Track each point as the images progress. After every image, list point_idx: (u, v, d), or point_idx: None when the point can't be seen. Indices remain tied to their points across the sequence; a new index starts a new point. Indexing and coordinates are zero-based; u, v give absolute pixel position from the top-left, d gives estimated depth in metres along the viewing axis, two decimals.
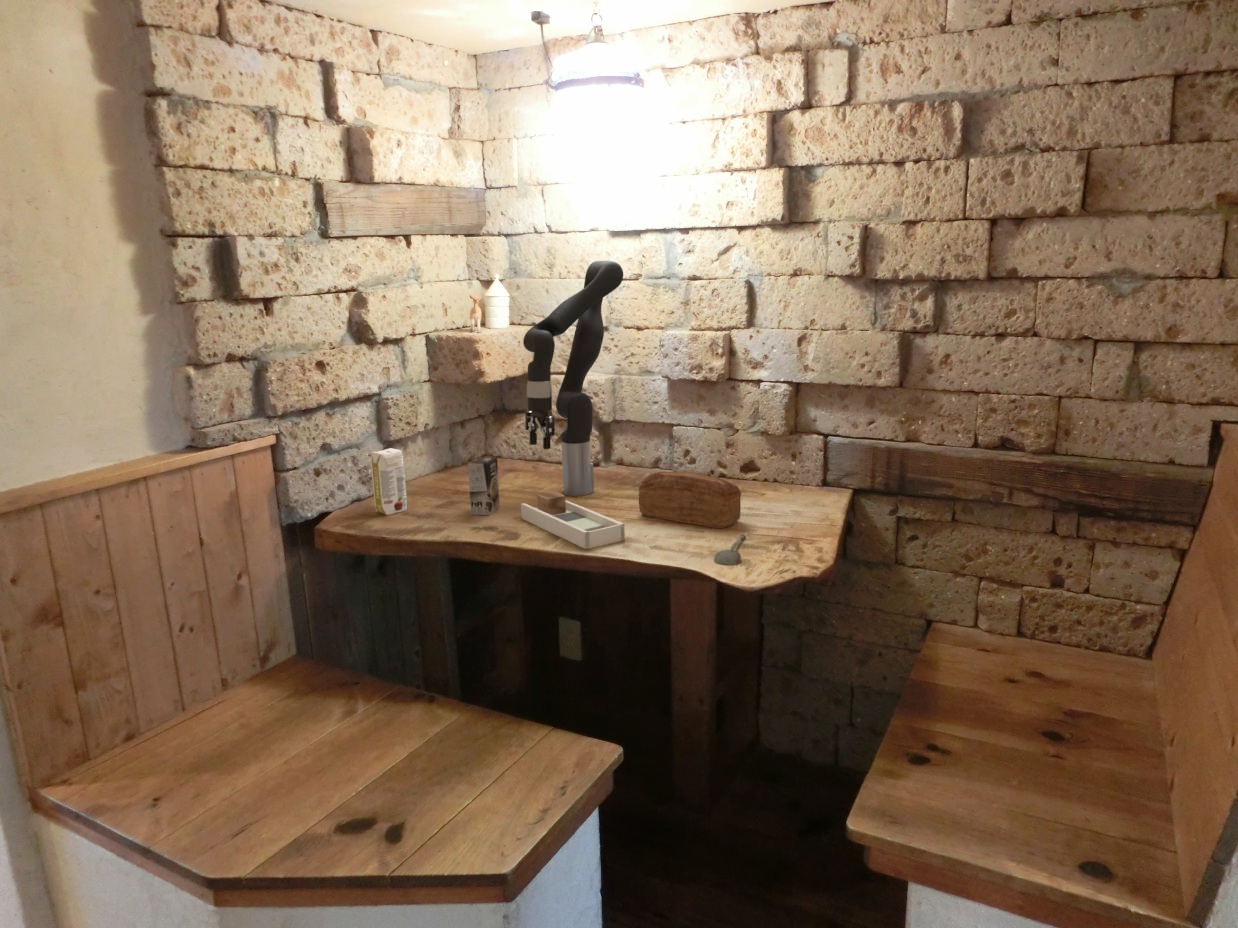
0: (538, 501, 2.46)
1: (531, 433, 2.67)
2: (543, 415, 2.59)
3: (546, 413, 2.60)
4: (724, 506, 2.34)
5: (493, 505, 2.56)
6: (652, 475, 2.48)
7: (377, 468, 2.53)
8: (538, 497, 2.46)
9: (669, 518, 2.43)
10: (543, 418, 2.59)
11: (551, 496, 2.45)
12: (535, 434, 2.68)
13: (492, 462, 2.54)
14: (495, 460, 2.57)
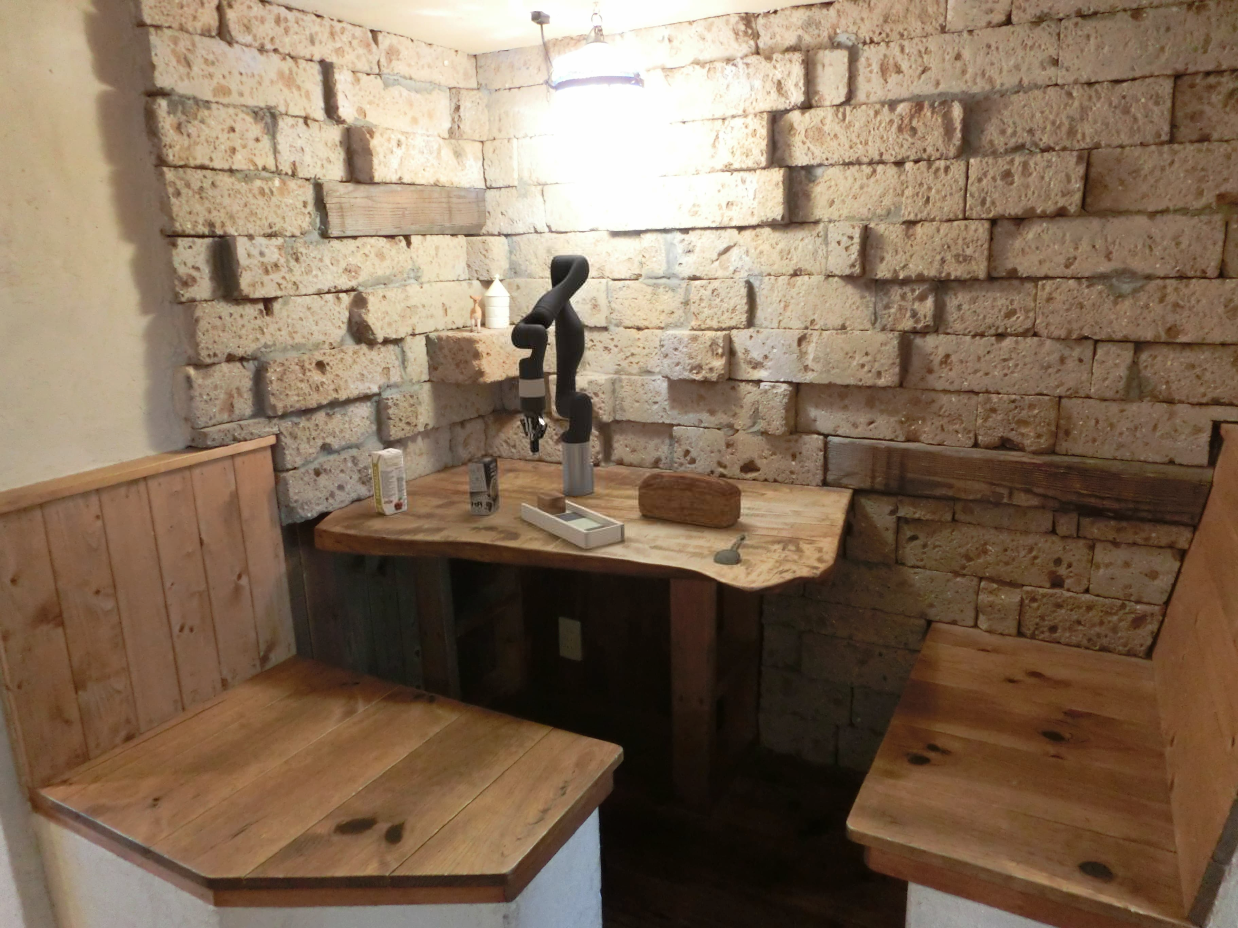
0: (538, 501, 2.46)
1: None
2: (537, 418, 2.44)
3: (540, 413, 2.45)
4: (725, 505, 2.34)
5: (493, 505, 2.56)
6: (652, 475, 2.48)
7: (377, 468, 2.53)
8: (538, 497, 2.46)
9: (669, 518, 2.43)
10: (536, 420, 2.44)
11: (551, 496, 2.45)
12: None
13: (492, 462, 2.54)
14: (495, 460, 2.57)
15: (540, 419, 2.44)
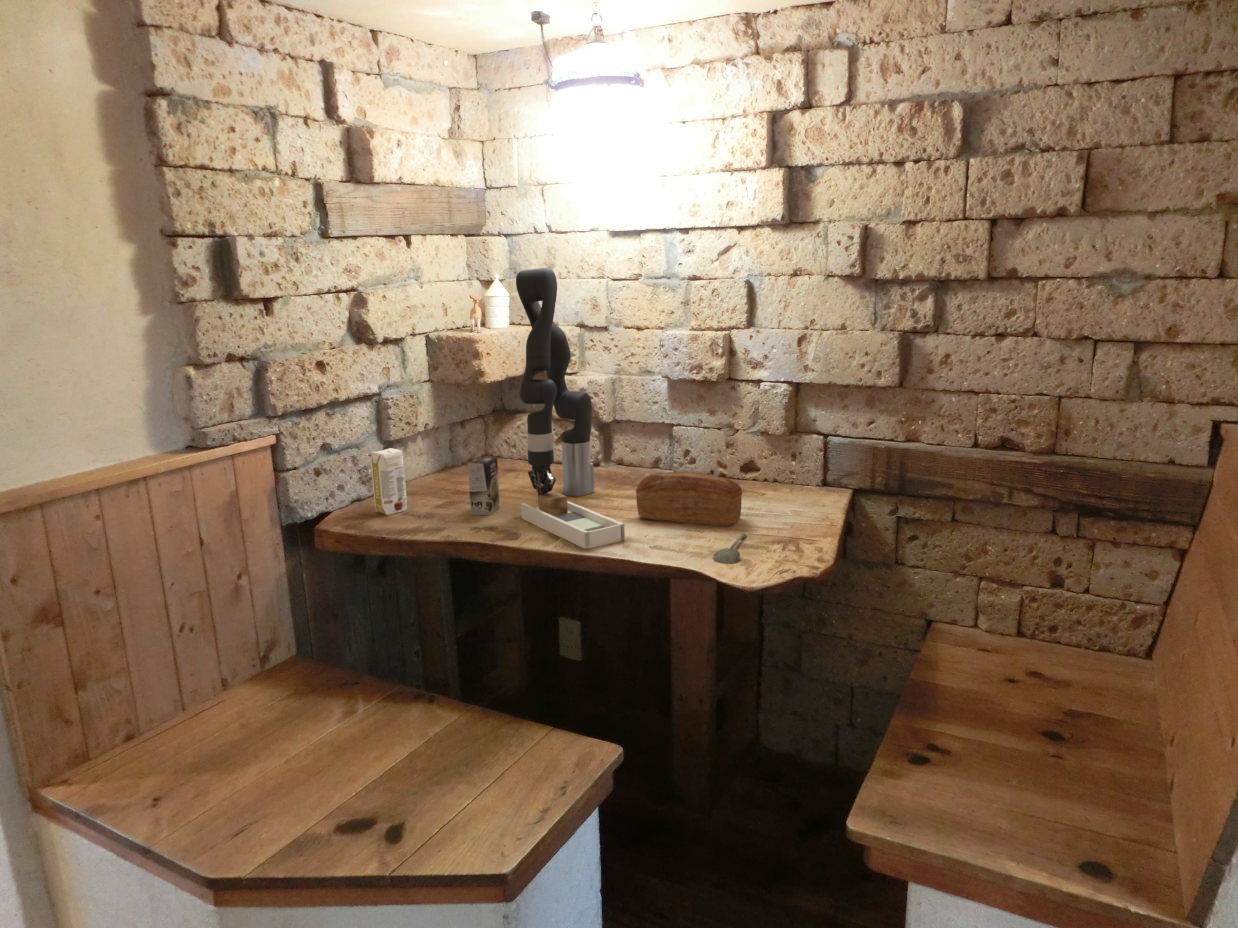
0: (540, 502, 2.46)
1: None
2: (546, 472, 2.44)
3: (548, 467, 2.45)
4: (731, 503, 2.36)
5: (493, 505, 2.56)
6: (650, 477, 2.46)
7: (377, 468, 2.53)
8: (540, 498, 2.46)
9: (672, 519, 2.42)
10: (545, 474, 2.45)
11: (553, 497, 2.44)
12: None
13: (492, 462, 2.54)
14: (495, 460, 2.57)
15: (548, 473, 2.45)
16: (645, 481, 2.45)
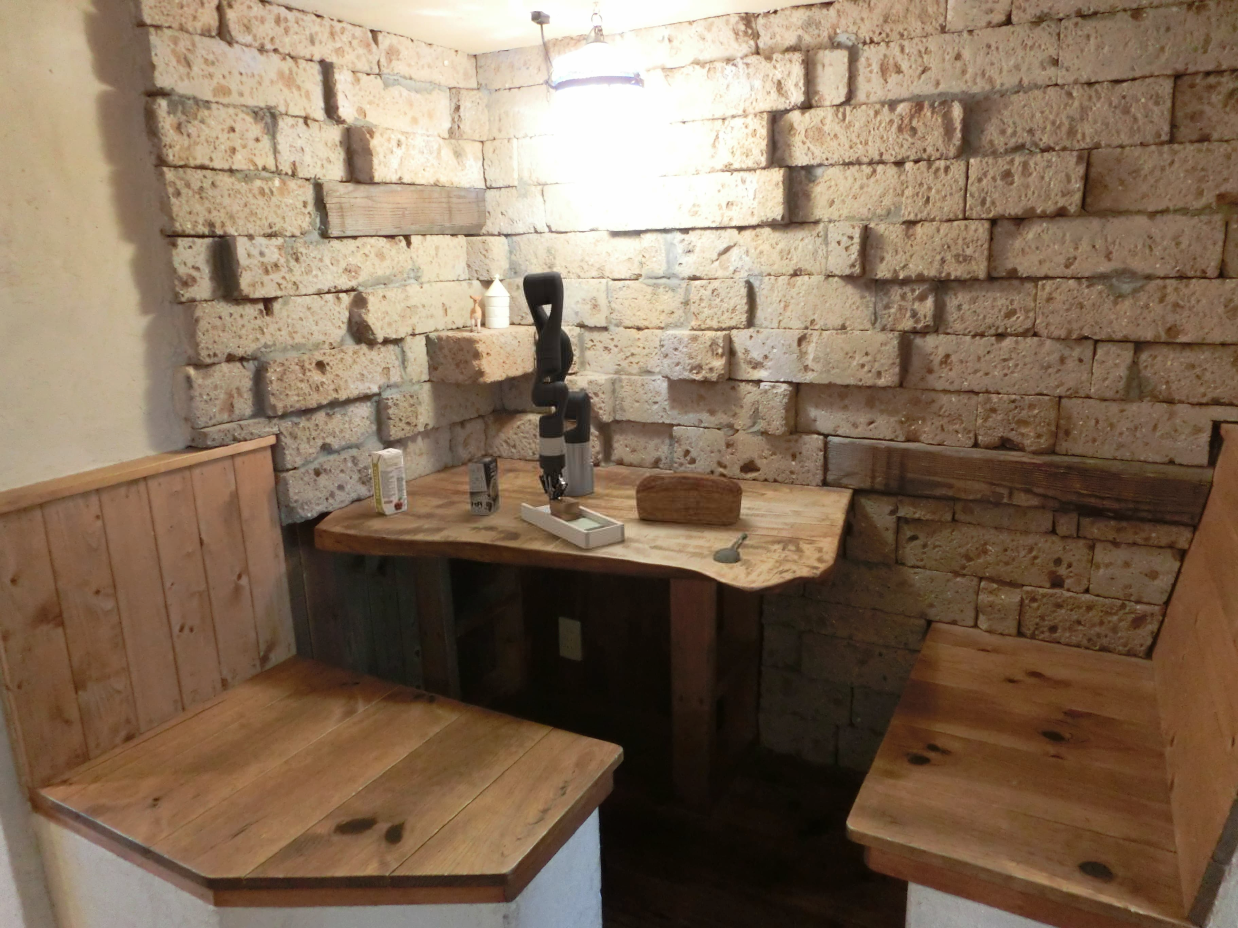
0: (551, 507, 2.40)
1: None
2: (557, 476, 2.39)
3: (560, 471, 2.40)
4: (733, 502, 2.37)
5: (493, 505, 2.56)
6: (649, 478, 2.45)
7: (377, 468, 2.53)
8: (551, 503, 2.40)
9: (673, 519, 2.42)
10: (556, 479, 2.39)
11: (565, 502, 2.38)
12: None
13: (492, 462, 2.54)
14: (495, 460, 2.57)
15: (560, 478, 2.39)
16: (645, 482, 2.44)
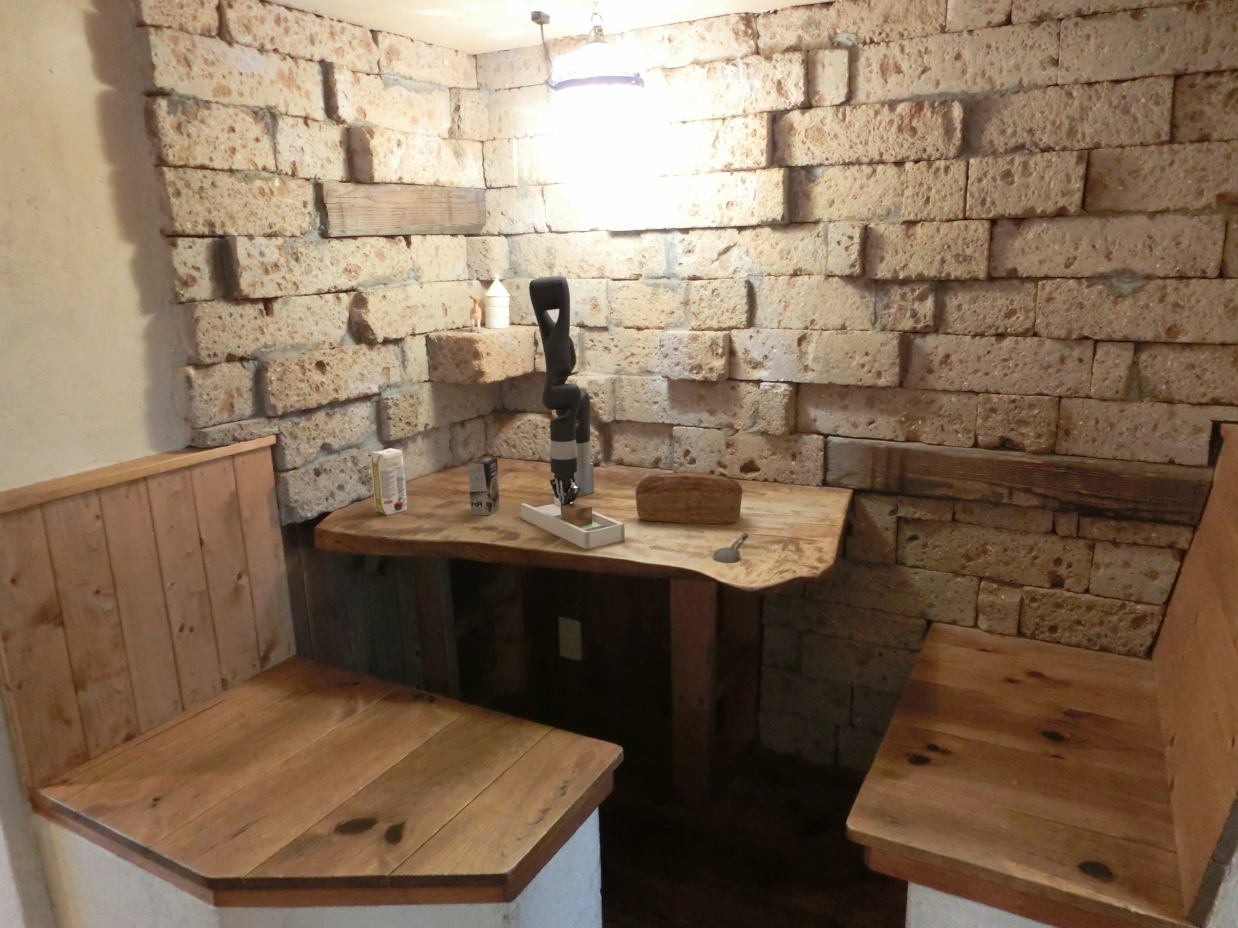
0: (563, 512, 2.35)
1: None
2: (569, 481, 2.34)
3: (572, 475, 2.35)
4: (735, 501, 2.38)
5: (493, 505, 2.56)
6: (649, 478, 2.44)
7: (377, 468, 2.53)
8: (563, 508, 2.35)
9: (674, 520, 2.42)
10: (568, 483, 2.34)
11: (577, 507, 2.33)
12: None
13: (492, 462, 2.54)
14: (495, 460, 2.57)
15: (572, 482, 2.34)
16: (645, 483, 2.43)
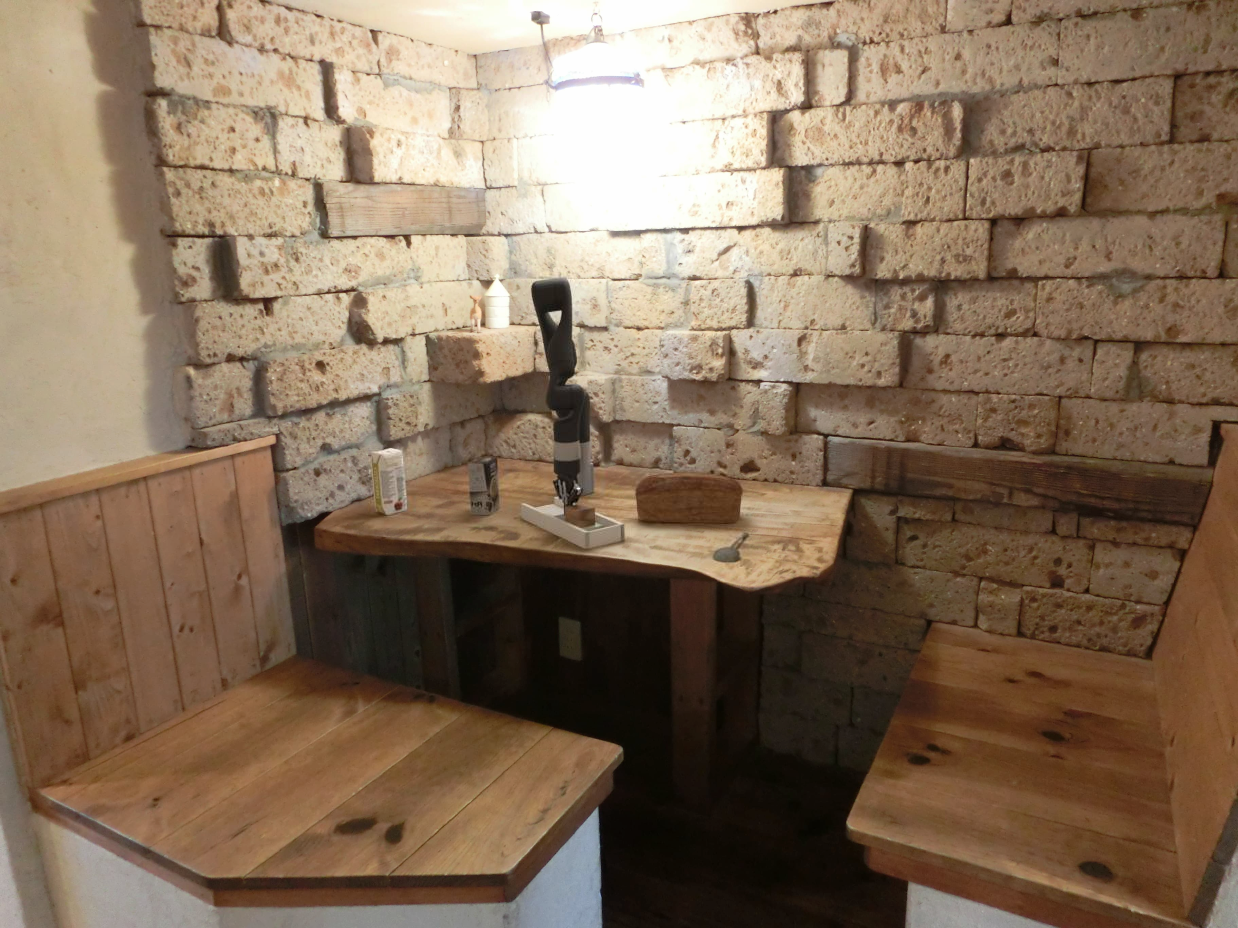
0: (566, 513, 2.34)
1: None
2: (572, 482, 2.33)
3: (575, 477, 2.33)
4: (736, 500, 2.39)
5: (493, 505, 2.56)
6: (649, 479, 2.43)
7: (377, 468, 2.53)
8: (566, 509, 2.34)
9: (675, 520, 2.42)
10: (571, 484, 2.33)
11: (580, 508, 2.32)
12: None
13: (492, 462, 2.54)
14: (495, 460, 2.57)
15: (575, 483, 2.33)
16: (645, 483, 2.42)
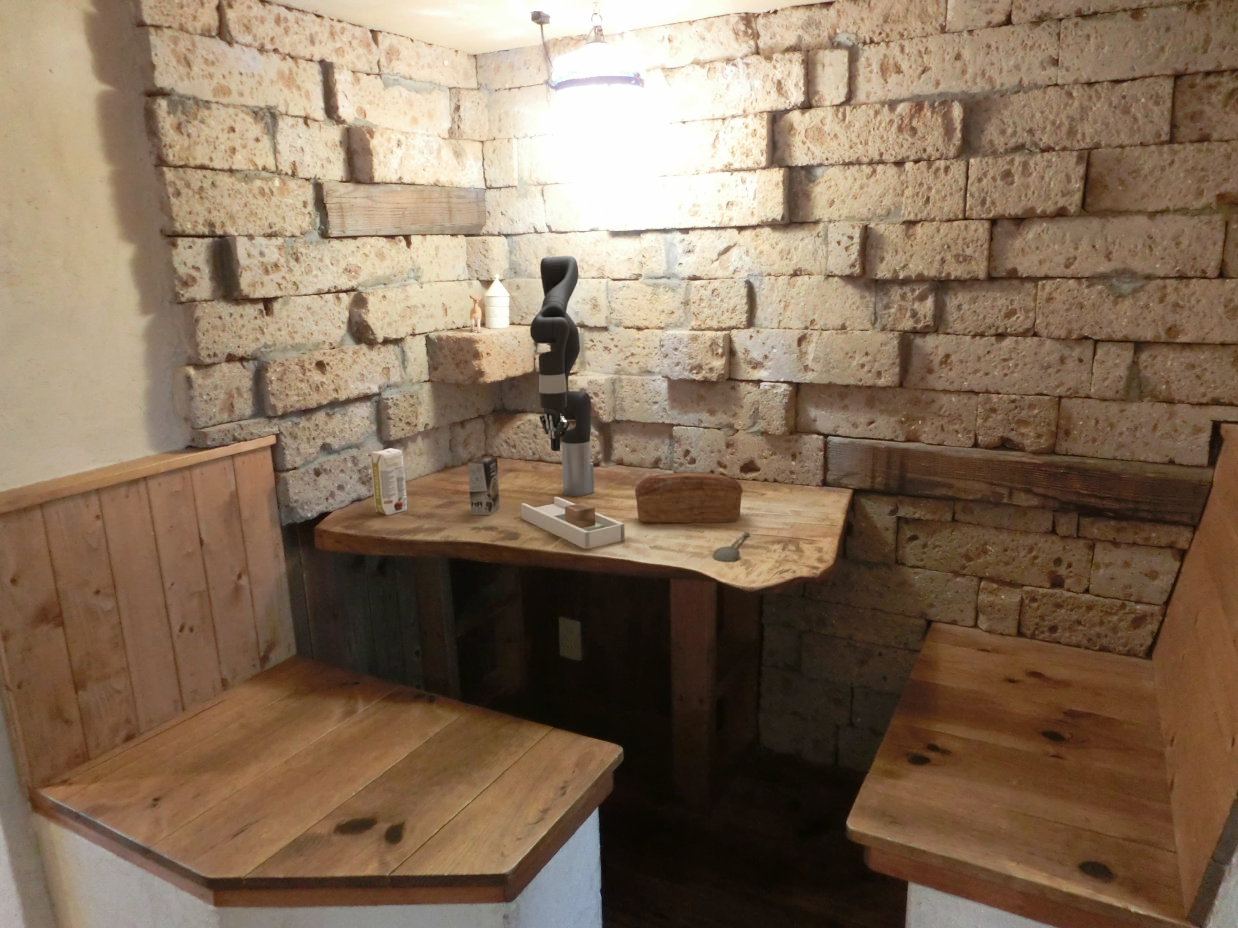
0: (566, 513, 2.34)
1: None
2: (559, 415, 2.34)
3: (561, 410, 2.34)
4: (737, 499, 2.40)
5: (493, 505, 2.56)
6: (649, 480, 2.42)
7: (377, 468, 2.53)
8: (566, 509, 2.34)
9: (677, 520, 2.41)
10: (558, 417, 2.34)
11: (580, 508, 2.32)
12: None
13: (492, 462, 2.54)
14: (495, 460, 2.57)
15: (561, 416, 2.34)
16: (646, 485, 2.41)
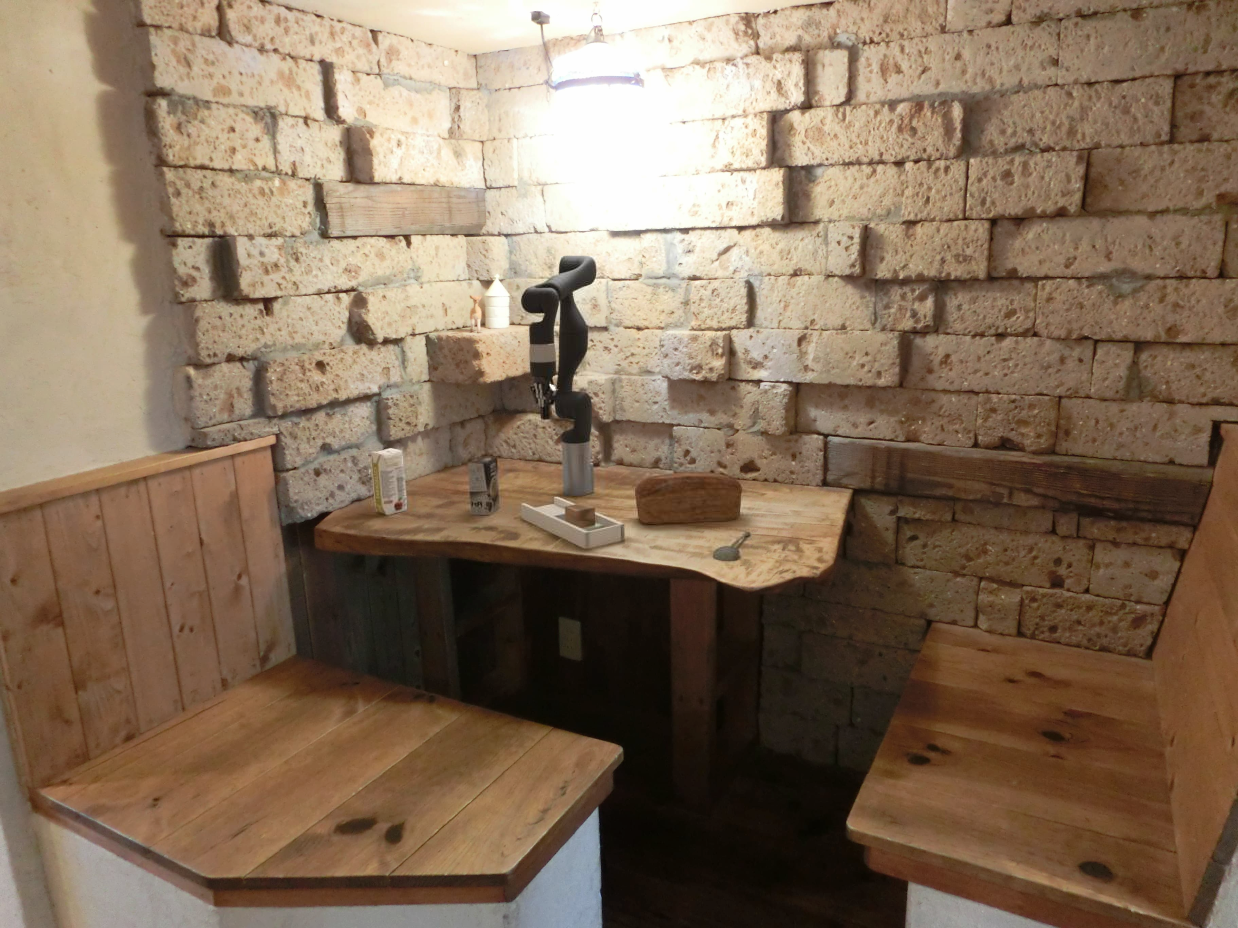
0: (566, 513, 2.34)
1: None
2: (548, 383, 2.40)
3: (551, 378, 2.40)
4: (738, 497, 2.42)
5: (493, 505, 2.56)
6: (650, 481, 2.41)
7: (377, 468, 2.53)
8: (566, 509, 2.34)
9: (679, 521, 2.41)
10: (547, 386, 2.40)
11: (580, 508, 2.32)
12: None
13: (492, 462, 2.54)
14: (495, 460, 2.57)
15: (551, 385, 2.40)
16: (648, 486, 2.40)
